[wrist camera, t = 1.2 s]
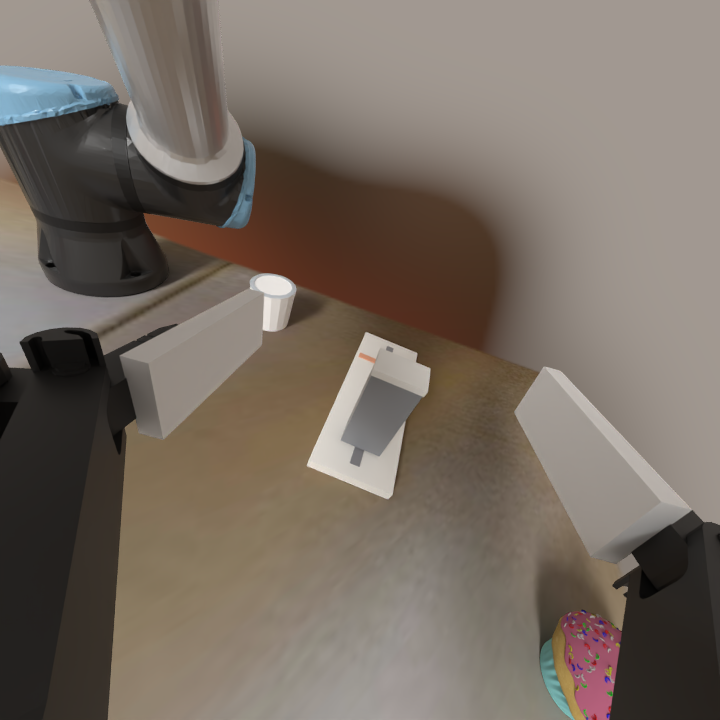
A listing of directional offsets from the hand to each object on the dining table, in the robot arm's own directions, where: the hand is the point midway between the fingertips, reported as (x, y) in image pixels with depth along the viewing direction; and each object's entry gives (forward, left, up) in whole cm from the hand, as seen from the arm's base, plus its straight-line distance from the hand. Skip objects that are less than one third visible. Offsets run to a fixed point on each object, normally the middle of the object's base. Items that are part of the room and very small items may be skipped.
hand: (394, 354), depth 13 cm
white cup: (-31, -3, -23) cm, 39 cm away
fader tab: (-7, +7, -21) cm, 23 cm away
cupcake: (+17, +21, -23) cm, 36 cm away
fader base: (-14, +11, -23) cm, 29 cm away
